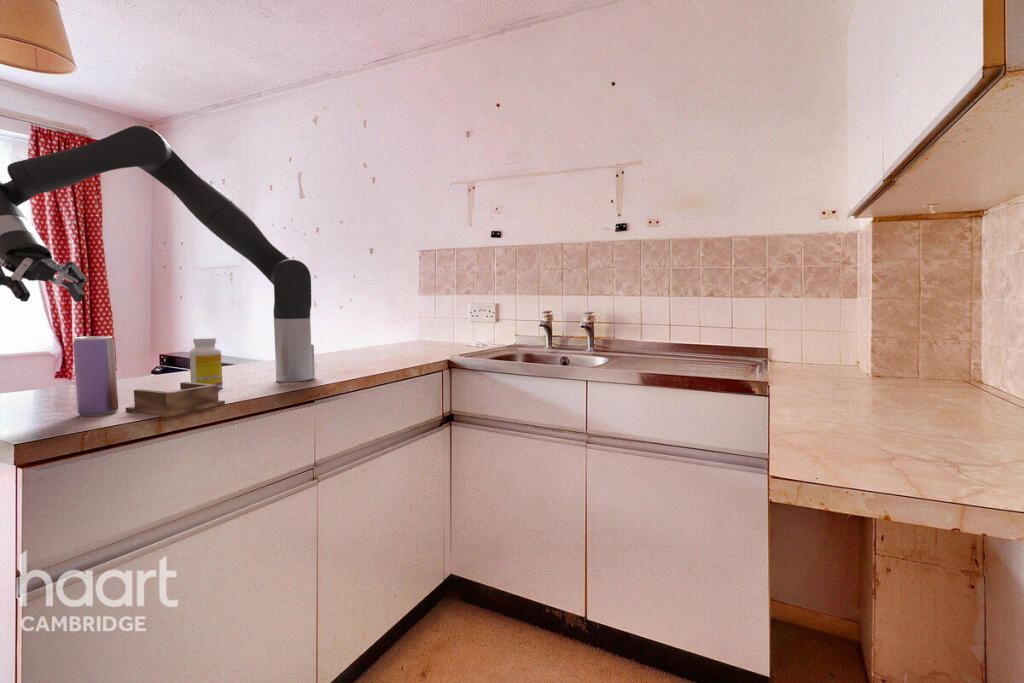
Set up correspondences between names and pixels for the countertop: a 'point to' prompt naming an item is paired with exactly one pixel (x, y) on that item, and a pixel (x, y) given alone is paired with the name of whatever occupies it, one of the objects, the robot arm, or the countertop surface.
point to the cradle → (176, 400)
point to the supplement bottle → (206, 362)
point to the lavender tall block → (95, 375)
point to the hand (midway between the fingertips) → (54, 298)
